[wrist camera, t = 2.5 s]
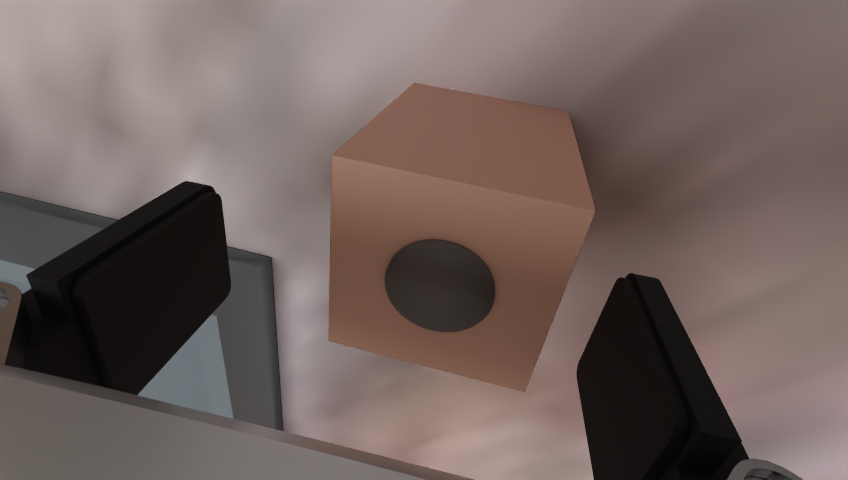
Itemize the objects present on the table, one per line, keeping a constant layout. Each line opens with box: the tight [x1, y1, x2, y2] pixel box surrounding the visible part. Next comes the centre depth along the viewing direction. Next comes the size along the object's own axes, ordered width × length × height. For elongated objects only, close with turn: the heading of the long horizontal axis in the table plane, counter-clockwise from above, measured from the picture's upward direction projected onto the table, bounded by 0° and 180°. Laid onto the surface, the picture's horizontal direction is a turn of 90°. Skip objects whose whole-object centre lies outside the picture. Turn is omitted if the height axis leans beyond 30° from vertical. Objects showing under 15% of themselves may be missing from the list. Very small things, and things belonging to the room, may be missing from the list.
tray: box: [0, 192, 283, 431], centre depth 24 cm, size 20×20×4 cm
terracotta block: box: [328, 83, 596, 392], centre depth 12 cm, size 5×5×7 cm
